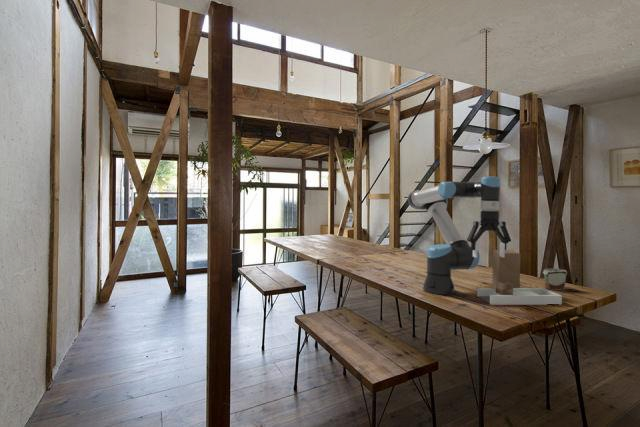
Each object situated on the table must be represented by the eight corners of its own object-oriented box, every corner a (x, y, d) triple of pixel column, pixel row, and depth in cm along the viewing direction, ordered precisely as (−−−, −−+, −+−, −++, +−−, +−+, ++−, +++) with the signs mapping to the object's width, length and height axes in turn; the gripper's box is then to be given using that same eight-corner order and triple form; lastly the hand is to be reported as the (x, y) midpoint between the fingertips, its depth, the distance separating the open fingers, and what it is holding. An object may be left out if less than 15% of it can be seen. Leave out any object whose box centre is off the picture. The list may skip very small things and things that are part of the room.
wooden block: (519, 292, 161) (521, 253, 160) (498, 291, 163) (499, 252, 162) (512, 287, 170) (513, 250, 170) (491, 286, 172) (492, 249, 172)
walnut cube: (502, 295, 146) (502, 284, 146) (495, 292, 151) (496, 281, 150) (512, 295, 146) (513, 284, 146) (506, 292, 151) (506, 281, 151)
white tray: (490, 304, 142) (491, 295, 142) (477, 296, 154) (477, 288, 154) (561, 304, 143) (561, 295, 143) (542, 296, 155) (542, 288, 155)
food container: (556, 286, 173) (556, 267, 173) (566, 289, 167) (567, 270, 167) (536, 287, 171) (537, 268, 171) (546, 290, 165) (547, 271, 165)
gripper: (467, 210, 142) (466, 258, 143) (521, 210, 143) (519, 258, 144) (459, 210, 150) (458, 255, 151) (510, 210, 150) (509, 255, 151)
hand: (488, 257), depth 147 cm, fingers open, 12 cm apart
